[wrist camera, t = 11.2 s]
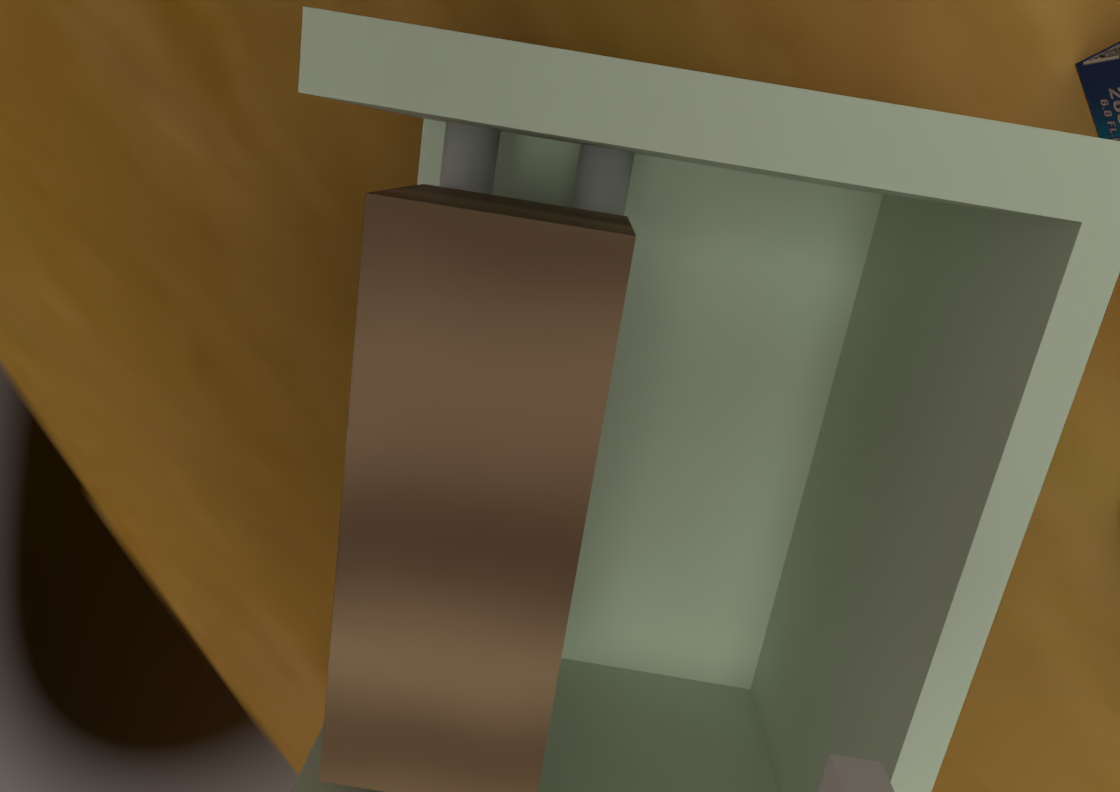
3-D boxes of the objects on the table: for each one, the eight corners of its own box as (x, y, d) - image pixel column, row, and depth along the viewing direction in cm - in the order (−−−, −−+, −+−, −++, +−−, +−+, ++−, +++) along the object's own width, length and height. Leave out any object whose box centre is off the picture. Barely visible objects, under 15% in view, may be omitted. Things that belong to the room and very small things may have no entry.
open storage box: (433, 71, 26) (303, 6, 15) (917, 151, 26) (1164, 149, 15) (373, 646, 33) (249, 913, 21) (763, 712, 33) (850, 1014, 21)
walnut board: (423, 183, 23) (366, 193, 18) (627, 216, 23) (636, 236, 18) (377, 652, 28) (319, 781, 22) (547, 680, 28) (533, 815, 22)
